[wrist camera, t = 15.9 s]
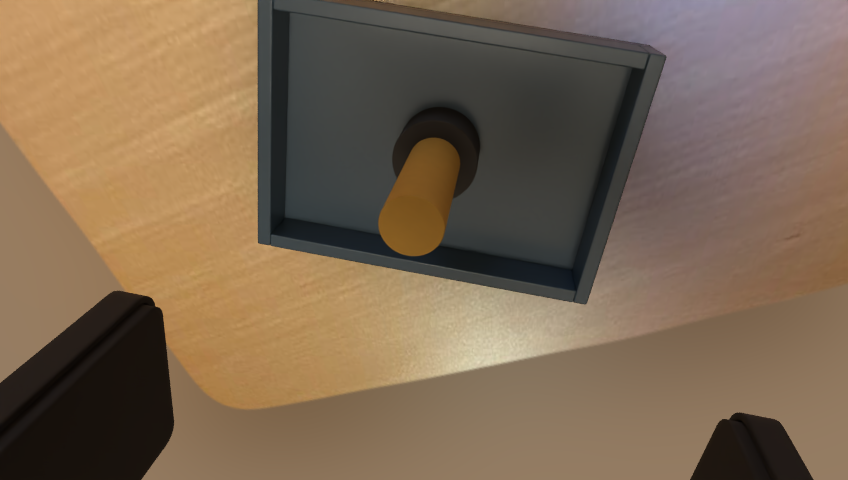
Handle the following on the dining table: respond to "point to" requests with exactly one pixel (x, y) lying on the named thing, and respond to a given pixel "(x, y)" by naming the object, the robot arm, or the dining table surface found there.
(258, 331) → the dining table surface
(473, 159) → the plug
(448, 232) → the basin tray
